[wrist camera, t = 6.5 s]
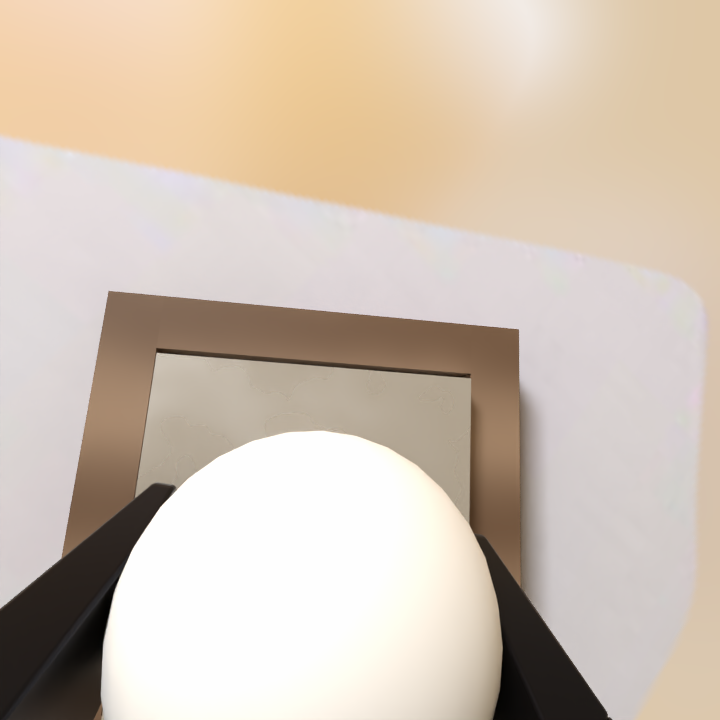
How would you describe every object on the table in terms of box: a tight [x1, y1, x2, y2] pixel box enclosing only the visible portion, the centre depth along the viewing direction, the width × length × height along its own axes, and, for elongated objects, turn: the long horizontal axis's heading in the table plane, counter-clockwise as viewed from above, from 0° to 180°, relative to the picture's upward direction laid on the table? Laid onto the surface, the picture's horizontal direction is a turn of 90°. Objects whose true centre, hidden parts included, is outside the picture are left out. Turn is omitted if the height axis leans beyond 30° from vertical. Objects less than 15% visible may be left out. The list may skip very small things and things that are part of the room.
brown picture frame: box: [61, 291, 521, 720], centre depth 18 cm, size 16×16×3 cm
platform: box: [101, 353, 471, 720], centre depth 17 cm, size 11×11×2 cm
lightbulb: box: [101, 431, 503, 720], centre depth 10 cm, size 6×6×11 cm
